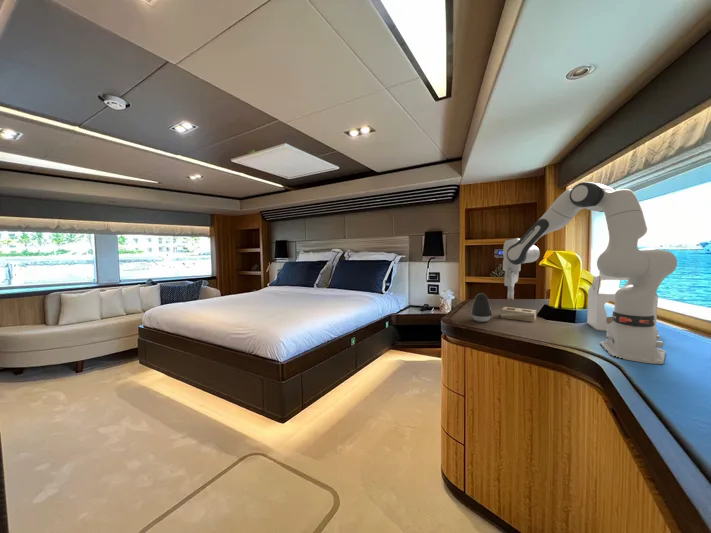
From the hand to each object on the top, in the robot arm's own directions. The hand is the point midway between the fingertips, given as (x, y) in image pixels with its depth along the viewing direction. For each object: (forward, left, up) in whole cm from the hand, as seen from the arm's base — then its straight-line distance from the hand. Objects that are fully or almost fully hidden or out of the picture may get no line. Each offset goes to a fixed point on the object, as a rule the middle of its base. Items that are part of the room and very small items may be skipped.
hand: (510, 292), depth 169 cm
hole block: (0, -4, -14) cm, 15 cm away
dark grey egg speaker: (-17, +11, -14) cm, 25 cm away
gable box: (+3, -47, -14) cm, 49 cm away
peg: (0, 0, -4) cm, 4 cm away
